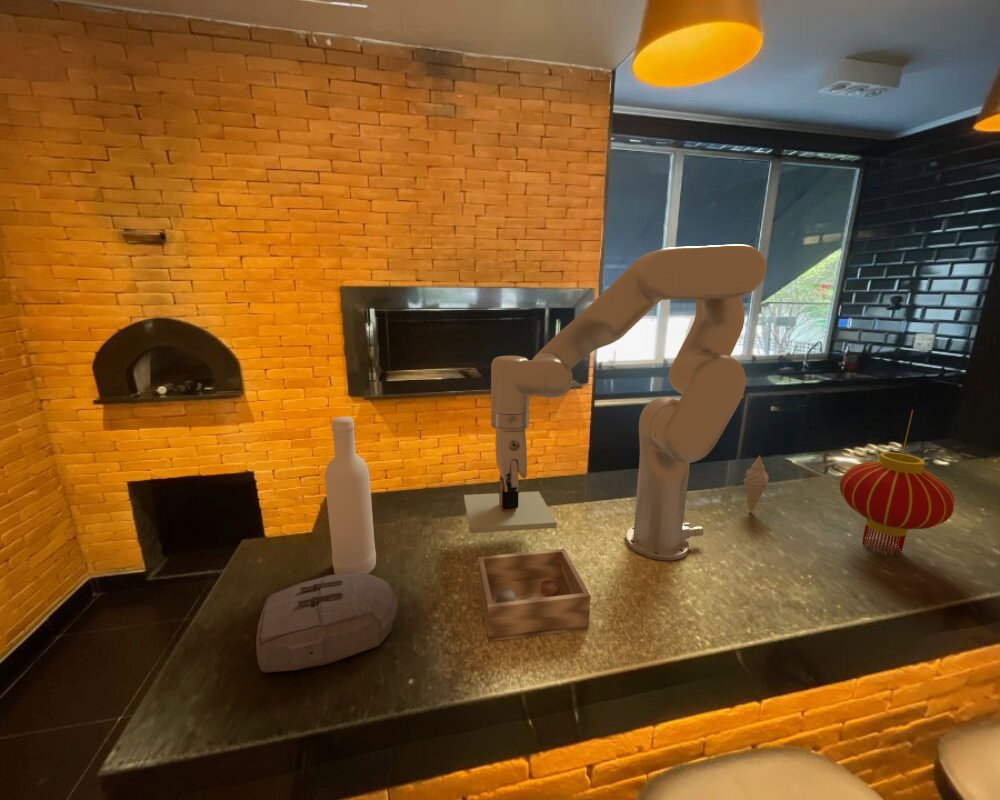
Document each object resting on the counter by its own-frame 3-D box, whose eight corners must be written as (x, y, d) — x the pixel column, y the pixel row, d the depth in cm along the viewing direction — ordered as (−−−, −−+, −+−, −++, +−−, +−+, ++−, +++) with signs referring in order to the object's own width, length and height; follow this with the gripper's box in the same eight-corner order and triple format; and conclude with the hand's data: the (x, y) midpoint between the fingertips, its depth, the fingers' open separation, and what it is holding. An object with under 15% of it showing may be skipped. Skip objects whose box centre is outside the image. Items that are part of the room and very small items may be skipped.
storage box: (563, 577, 79) (564, 548, 78) (588, 628, 67) (590, 595, 66) (478, 586, 77) (478, 557, 76) (488, 641, 64) (488, 607, 63)
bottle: (332, 560, 84) (318, 415, 78) (373, 551, 87) (363, 411, 81) (334, 585, 77) (318, 427, 70) (379, 574, 80) (367, 422, 73)
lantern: (847, 519, 101) (873, 396, 94) (950, 555, 86) (989, 413, 80) (815, 540, 92) (841, 406, 85) (924, 584, 78) (965, 427, 71)
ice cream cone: (767, 517, 101) (776, 458, 98) (745, 517, 101) (754, 458, 98) (755, 507, 106) (763, 451, 103) (734, 507, 106) (742, 451, 103)
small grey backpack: (251, 695, 56) (405, 653, 62) (242, 642, 54) (402, 605, 61) (269, 617, 70) (394, 589, 76) (263, 572, 68) (391, 548, 74)
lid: (538, 500, 97) (539, 466, 95) (556, 532, 83) (558, 494, 82) (463, 504, 94) (464, 469, 92) (469, 538, 81) (470, 498, 79)
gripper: (538, 430, 77) (535, 522, 81) (519, 408, 92) (518, 486, 97) (497, 432, 75) (496, 525, 80) (485, 409, 91) (485, 488, 95)
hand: (508, 503), depth 88 cm, fingers closed on lid, 3 cm apart
